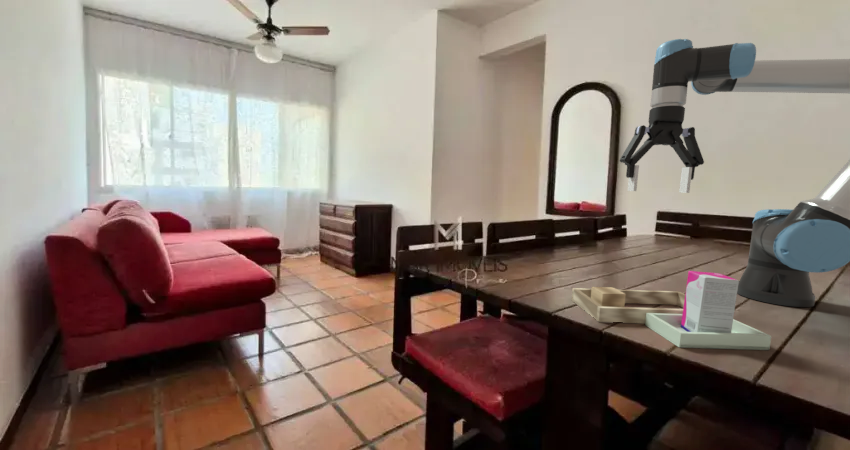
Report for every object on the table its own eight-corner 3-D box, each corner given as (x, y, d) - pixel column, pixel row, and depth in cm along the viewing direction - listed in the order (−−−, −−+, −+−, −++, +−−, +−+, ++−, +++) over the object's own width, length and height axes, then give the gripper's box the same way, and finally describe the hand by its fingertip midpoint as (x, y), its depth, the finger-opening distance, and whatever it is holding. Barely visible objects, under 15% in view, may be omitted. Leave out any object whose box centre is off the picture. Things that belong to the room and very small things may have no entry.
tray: (723, 327, 75) (725, 315, 75) (769, 350, 65) (771, 335, 65) (645, 325, 75) (646, 312, 74) (679, 347, 65) (680, 333, 65)
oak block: (611, 308, 85) (613, 287, 84) (623, 316, 80) (625, 294, 79) (589, 308, 85) (591, 286, 84) (600, 316, 80) (602, 293, 79)
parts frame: (677, 303, 90) (679, 291, 90) (724, 325, 76) (726, 311, 76) (571, 300, 90) (572, 288, 89) (598, 322, 76) (599, 307, 75)
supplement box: (731, 341, 67) (740, 279, 65) (695, 338, 67) (703, 277, 66) (712, 329, 72) (720, 272, 71) (679, 326, 73) (686, 269, 72)
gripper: (704, 111, 97) (695, 192, 99) (610, 108, 97) (603, 189, 99) (728, 106, 89) (717, 193, 92) (626, 102, 89) (617, 190, 92)
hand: (658, 191), depth 96 cm, fingers open, 13 cm apart
